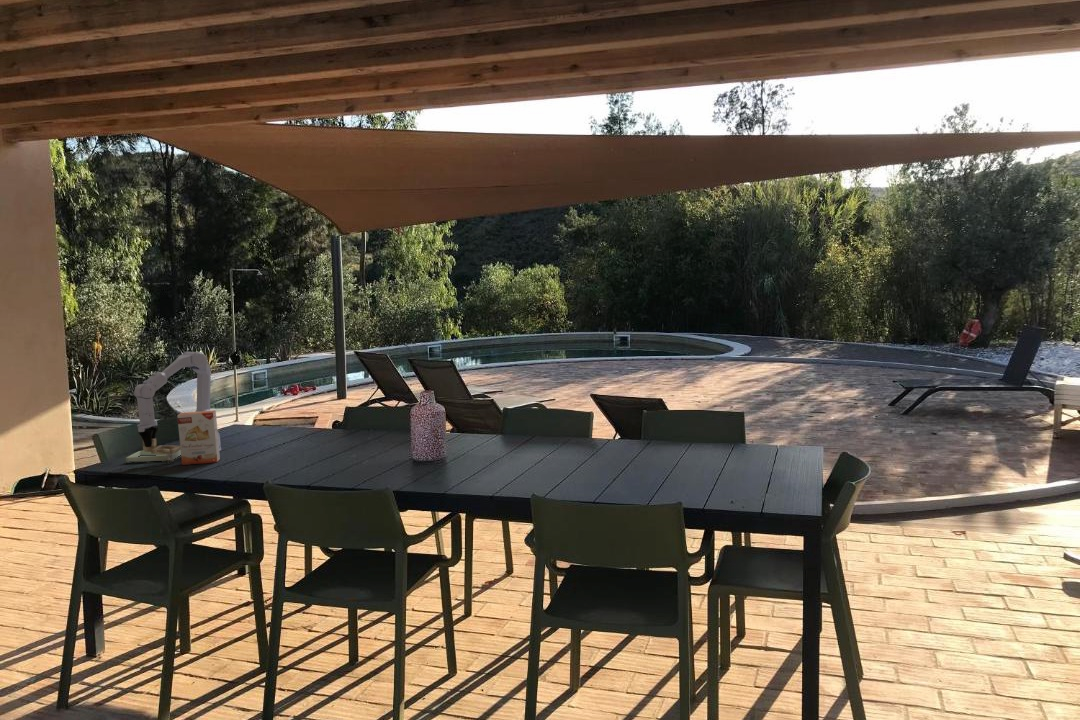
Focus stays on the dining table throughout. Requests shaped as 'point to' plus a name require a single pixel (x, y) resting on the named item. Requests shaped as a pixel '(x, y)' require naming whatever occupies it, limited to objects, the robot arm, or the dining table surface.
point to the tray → (150, 458)
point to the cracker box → (198, 437)
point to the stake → (169, 458)
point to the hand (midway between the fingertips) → (150, 446)
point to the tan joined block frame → (161, 448)
